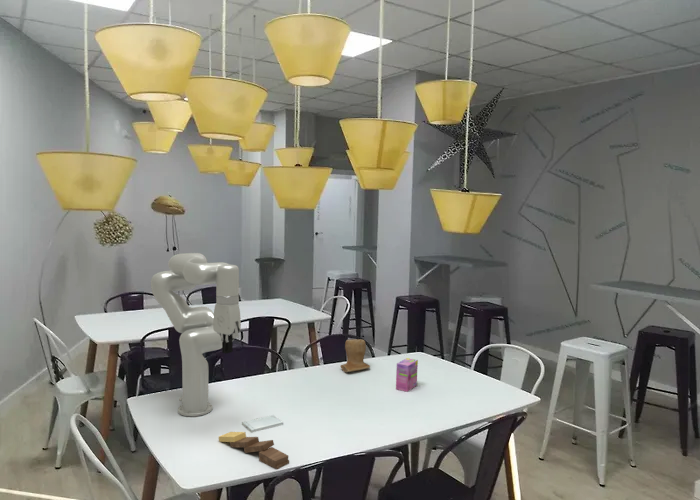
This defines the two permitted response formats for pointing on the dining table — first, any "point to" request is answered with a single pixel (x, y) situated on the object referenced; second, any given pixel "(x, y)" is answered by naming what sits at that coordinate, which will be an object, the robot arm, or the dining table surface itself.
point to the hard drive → (262, 423)
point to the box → (406, 374)
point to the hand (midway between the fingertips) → (227, 352)
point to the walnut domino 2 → (259, 446)
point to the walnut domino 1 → (245, 442)
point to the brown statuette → (355, 355)
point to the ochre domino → (232, 436)
